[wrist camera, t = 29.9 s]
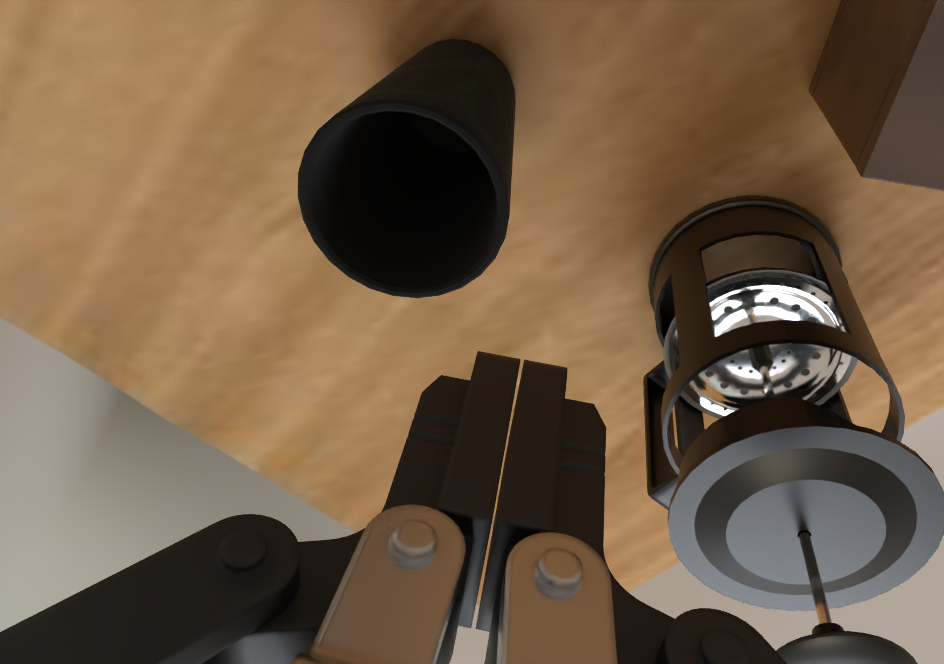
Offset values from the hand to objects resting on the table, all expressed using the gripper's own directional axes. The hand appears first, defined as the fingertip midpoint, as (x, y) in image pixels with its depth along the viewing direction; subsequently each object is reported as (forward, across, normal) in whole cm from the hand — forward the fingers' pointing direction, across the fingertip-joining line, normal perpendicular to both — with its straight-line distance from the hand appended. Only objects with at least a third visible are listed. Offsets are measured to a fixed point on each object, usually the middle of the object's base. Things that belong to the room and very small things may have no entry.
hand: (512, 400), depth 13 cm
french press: (+27, -10, +12) cm, 31 cm away
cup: (+27, +5, +4) cm, 28 cm away
